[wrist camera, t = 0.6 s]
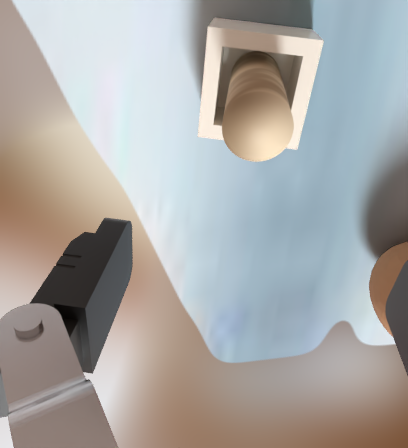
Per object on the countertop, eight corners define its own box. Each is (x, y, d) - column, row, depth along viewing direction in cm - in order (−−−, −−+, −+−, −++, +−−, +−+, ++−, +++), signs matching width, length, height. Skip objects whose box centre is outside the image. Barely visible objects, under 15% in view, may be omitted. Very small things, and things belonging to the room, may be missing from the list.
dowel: (284, 54, 28) (301, 97, 19) (274, 104, 30) (285, 165, 21) (234, 48, 28) (226, 87, 19) (227, 98, 30) (217, 156, 21)
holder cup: (312, 29, 28) (323, 40, 23) (291, 125, 31) (297, 149, 27) (214, 17, 28) (207, 26, 24) (204, 114, 32) (197, 136, 27)
